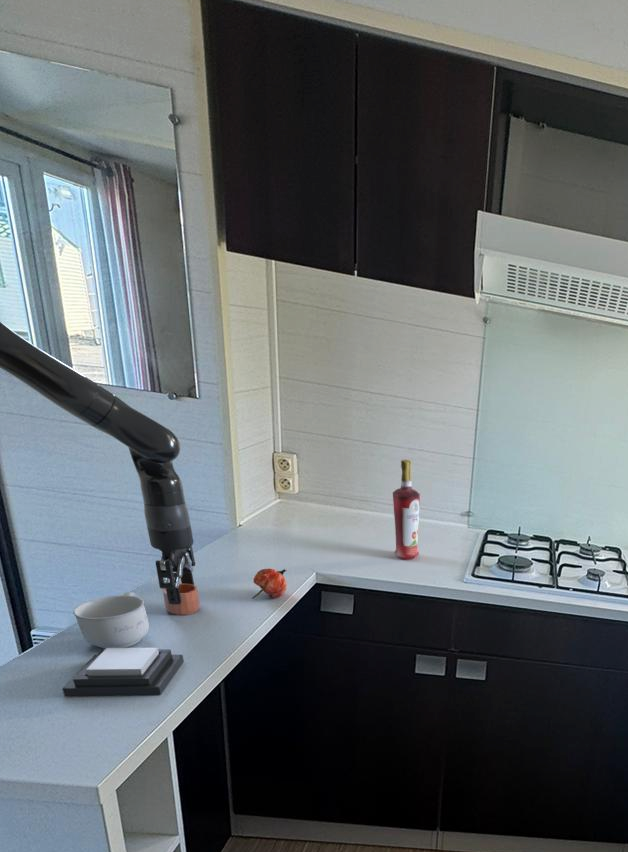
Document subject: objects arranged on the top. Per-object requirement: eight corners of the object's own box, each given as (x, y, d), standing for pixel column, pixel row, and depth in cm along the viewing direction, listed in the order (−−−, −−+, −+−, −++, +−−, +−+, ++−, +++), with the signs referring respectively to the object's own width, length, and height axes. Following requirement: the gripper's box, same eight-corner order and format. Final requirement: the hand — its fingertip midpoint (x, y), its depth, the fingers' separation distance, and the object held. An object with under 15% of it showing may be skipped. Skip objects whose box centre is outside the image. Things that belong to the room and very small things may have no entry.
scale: (64, 696, 104) (60, 681, 103) (96, 662, 115) (93, 647, 113) (160, 695, 108) (157, 680, 107) (183, 661, 118) (181, 647, 117)
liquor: (407, 551, 189) (406, 457, 176) (424, 557, 186) (425, 462, 174) (388, 556, 183) (386, 459, 171) (406, 563, 180) (405, 464, 168)
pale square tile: (87, 677, 106) (85, 669, 105) (108, 655, 113) (106, 647, 112) (142, 676, 108) (140, 669, 107) (159, 655, 115) (157, 647, 114)
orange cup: (162, 615, 134) (158, 593, 131) (172, 603, 139) (168, 582, 137) (195, 615, 135) (191, 594, 133) (203, 604, 141) (200, 583, 139)
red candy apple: (264, 613, 145) (299, 586, 147) (239, 590, 141) (275, 562, 143) (263, 604, 151) (296, 577, 153) (238, 582, 147) (273, 555, 149)
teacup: (126, 658, 117) (117, 619, 114) (67, 651, 117) (57, 612, 113) (174, 627, 130) (167, 592, 126) (121, 621, 129) (112, 585, 126)
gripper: (160, 513, 134) (173, 583, 141) (133, 533, 122) (150, 609, 129) (200, 514, 136) (211, 584, 143) (177, 535, 124) (191, 609, 131)
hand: (182, 595), depth 136 cm, fingers open, 8 cm apart
